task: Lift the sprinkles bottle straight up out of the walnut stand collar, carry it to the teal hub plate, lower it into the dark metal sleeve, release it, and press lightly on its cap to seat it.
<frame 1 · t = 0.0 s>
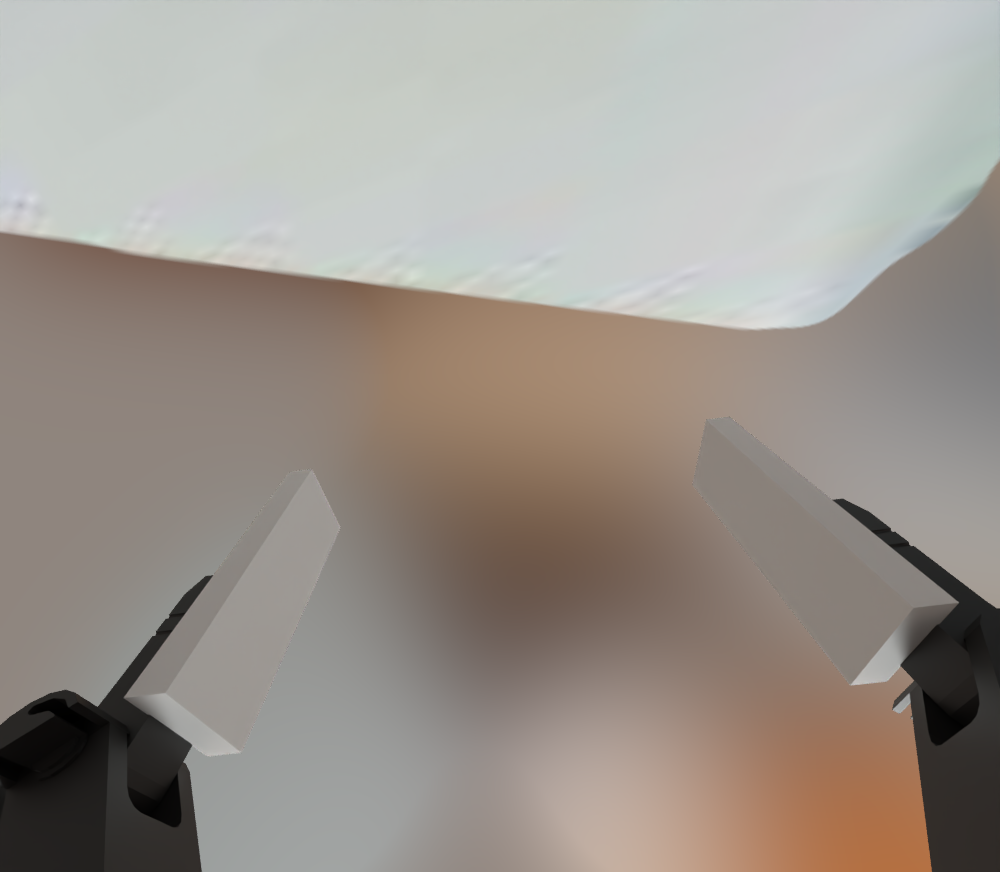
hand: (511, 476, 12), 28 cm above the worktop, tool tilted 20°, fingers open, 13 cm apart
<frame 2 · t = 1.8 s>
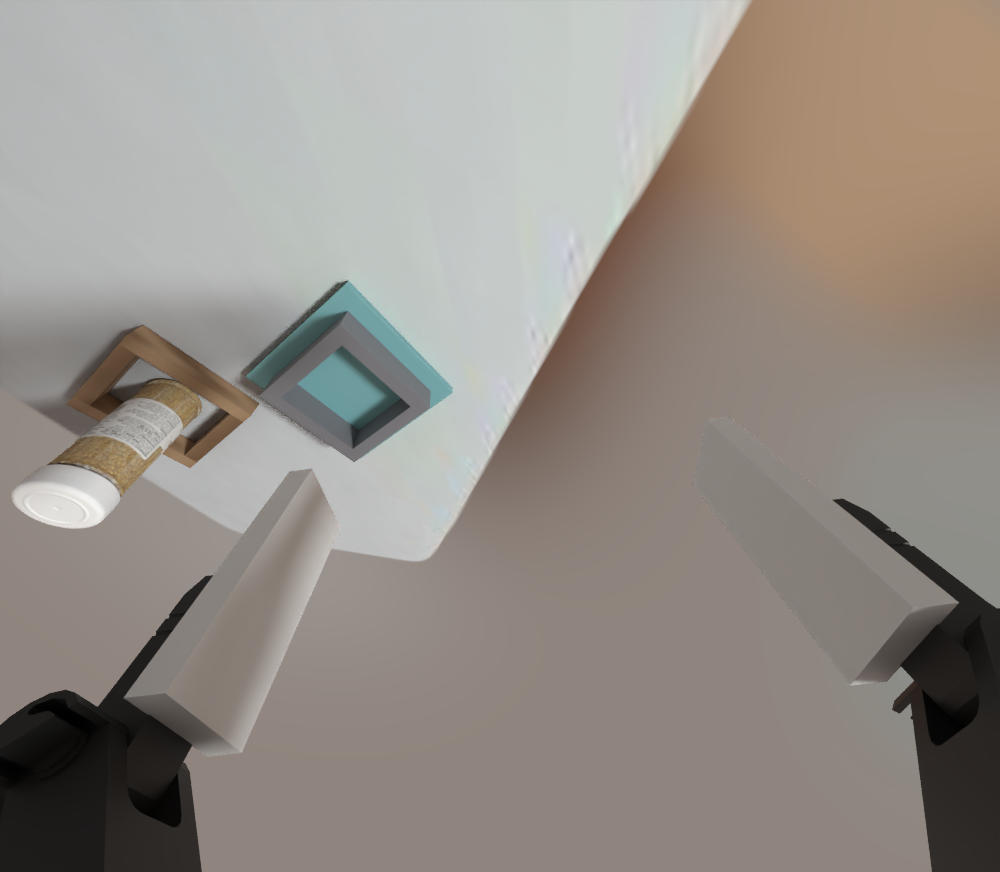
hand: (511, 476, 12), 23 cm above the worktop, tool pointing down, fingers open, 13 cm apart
stand collar: (175, 398, 34), on the worktop
hub plate: (356, 379, 35), on the worktop
sprinkles bottle: (176, 396, 34), resting in stand collar
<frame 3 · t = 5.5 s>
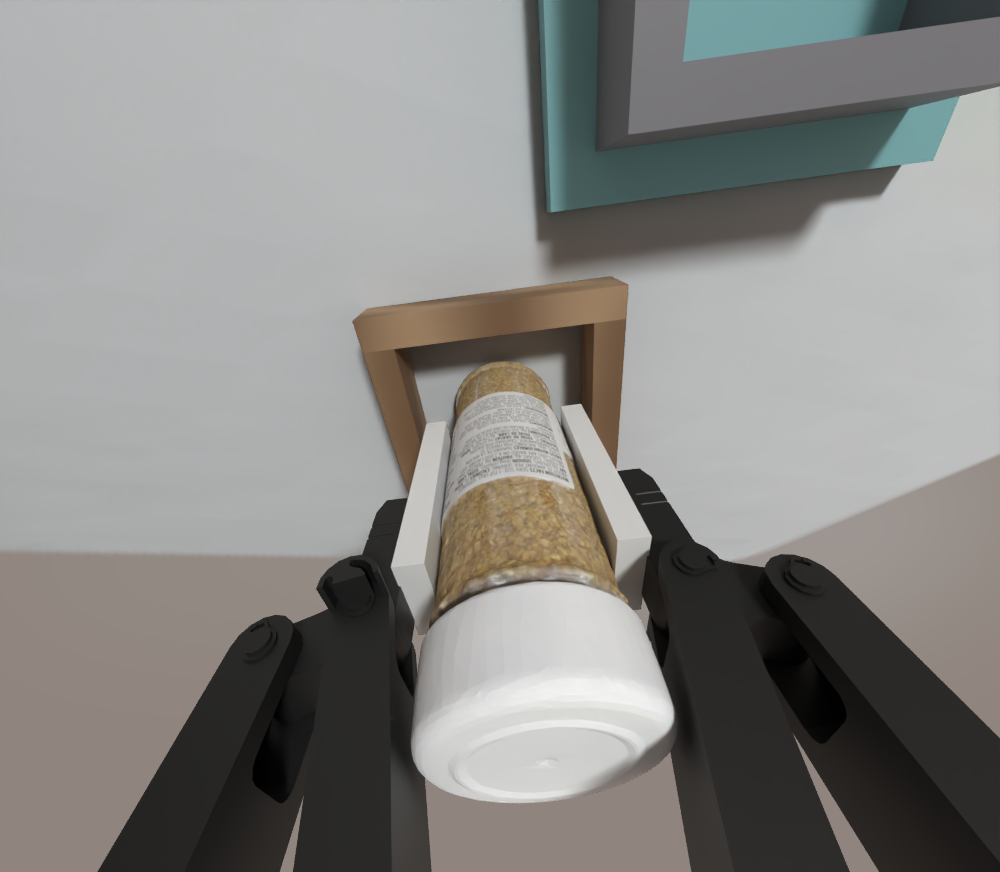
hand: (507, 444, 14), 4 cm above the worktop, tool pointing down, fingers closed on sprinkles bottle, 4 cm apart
stand collar: (502, 402, 17), on the worktop
sprinkles bottle: (501, 400, 18), resting in stand collar, touching gripper
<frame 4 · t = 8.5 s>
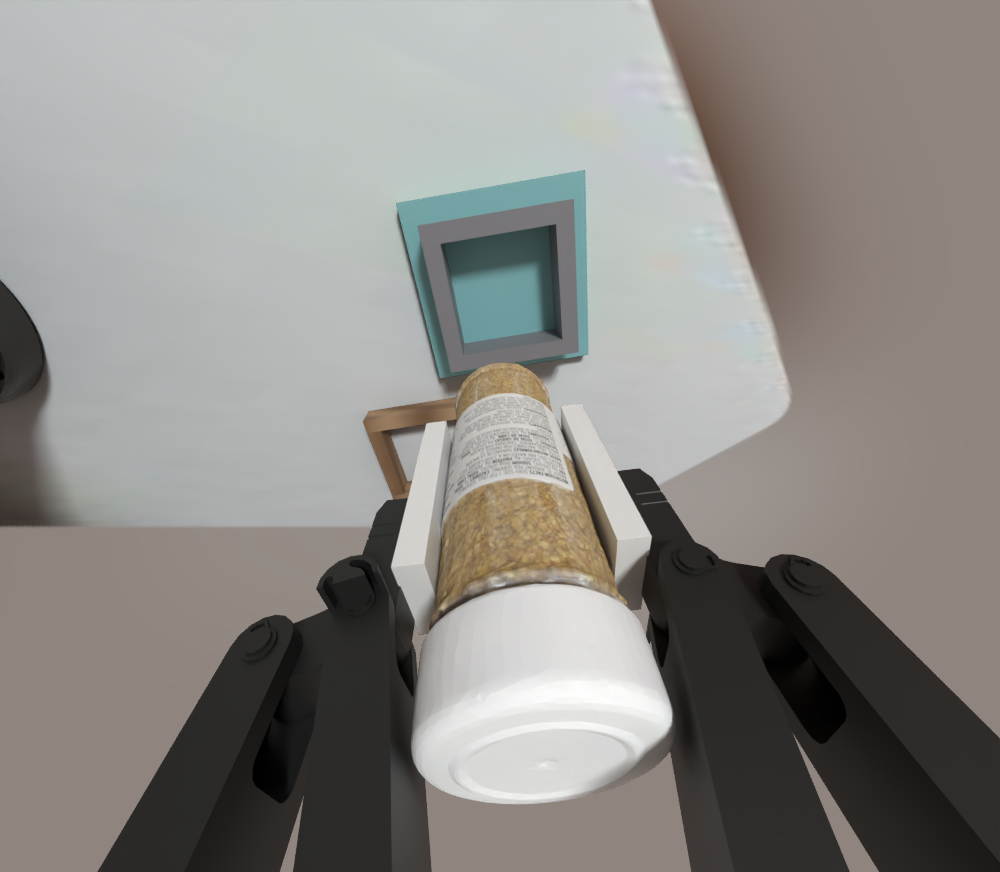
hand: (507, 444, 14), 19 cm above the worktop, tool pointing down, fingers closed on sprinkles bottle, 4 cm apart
stand collar: (433, 447, 36), on the worktop
hub plate: (502, 285, 29), on the worktop
sprinkles bottle: (501, 401, 18), point 15 cm above the worktop, touching gripper
when the fingers open (6 cm above the worktop, at t = 11.4 s): sprinkles bottle drops 1 cm, resting on hub plate.
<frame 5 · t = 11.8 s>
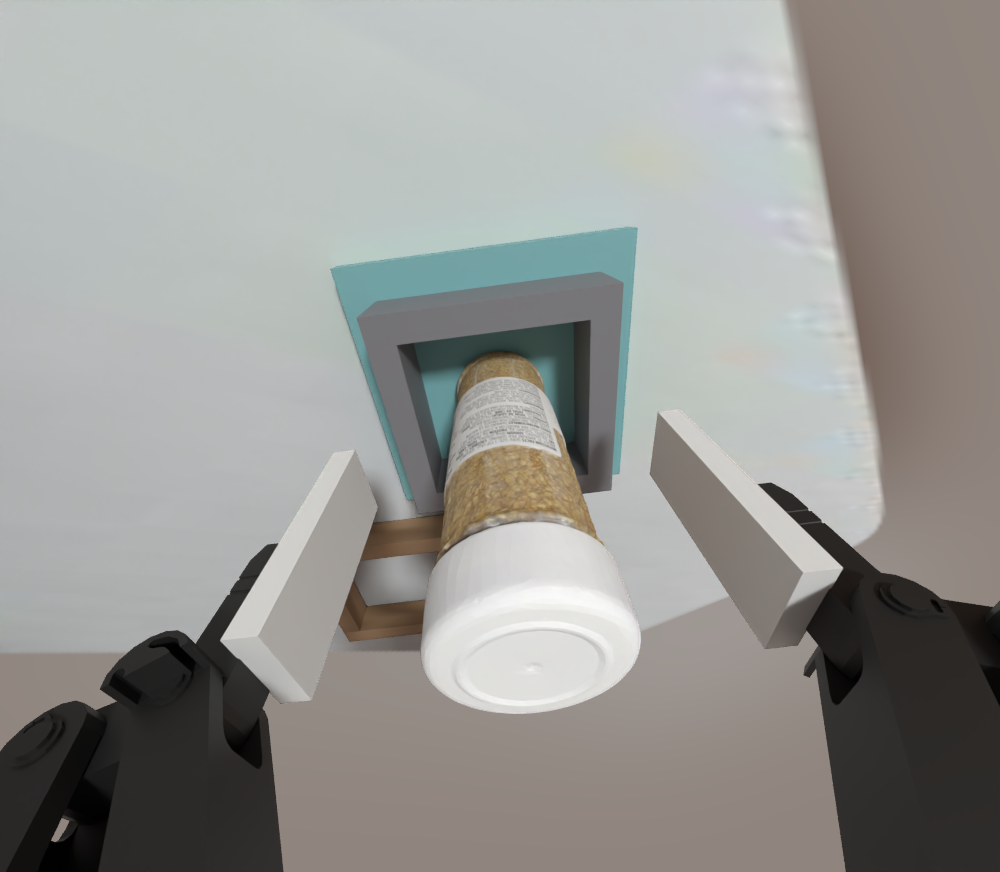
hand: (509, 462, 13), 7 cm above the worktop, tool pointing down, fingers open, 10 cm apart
stand collar: (401, 570, 27), on the worktop
hub plate: (499, 381, 19), on the worktop
sprinkles bottle: (499, 388, 19), point 1 cm above the worktop, touching hub plate
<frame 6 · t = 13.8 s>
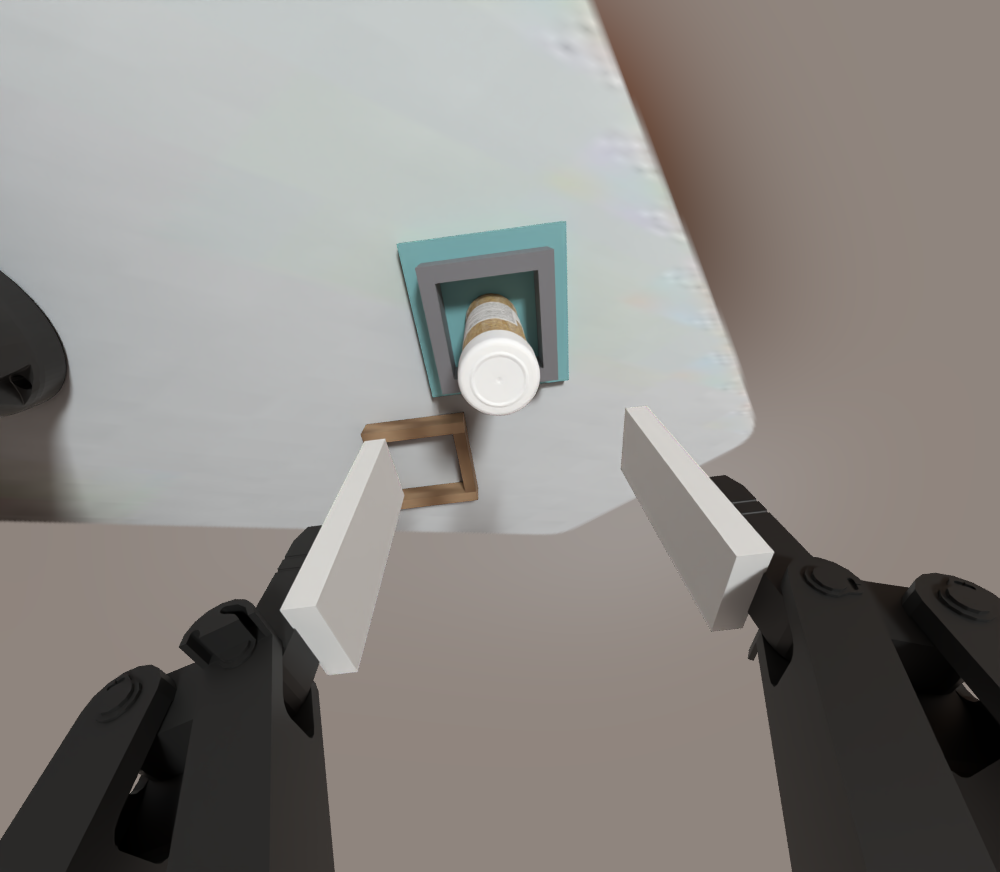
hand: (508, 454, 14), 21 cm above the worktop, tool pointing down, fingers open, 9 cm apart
stand collar: (425, 458, 39), on the worktop
hub plate: (491, 316, 32), on the worktop
sprinkles bottle: (491, 319, 31), point 1 cm above the worktop, touching hub plate
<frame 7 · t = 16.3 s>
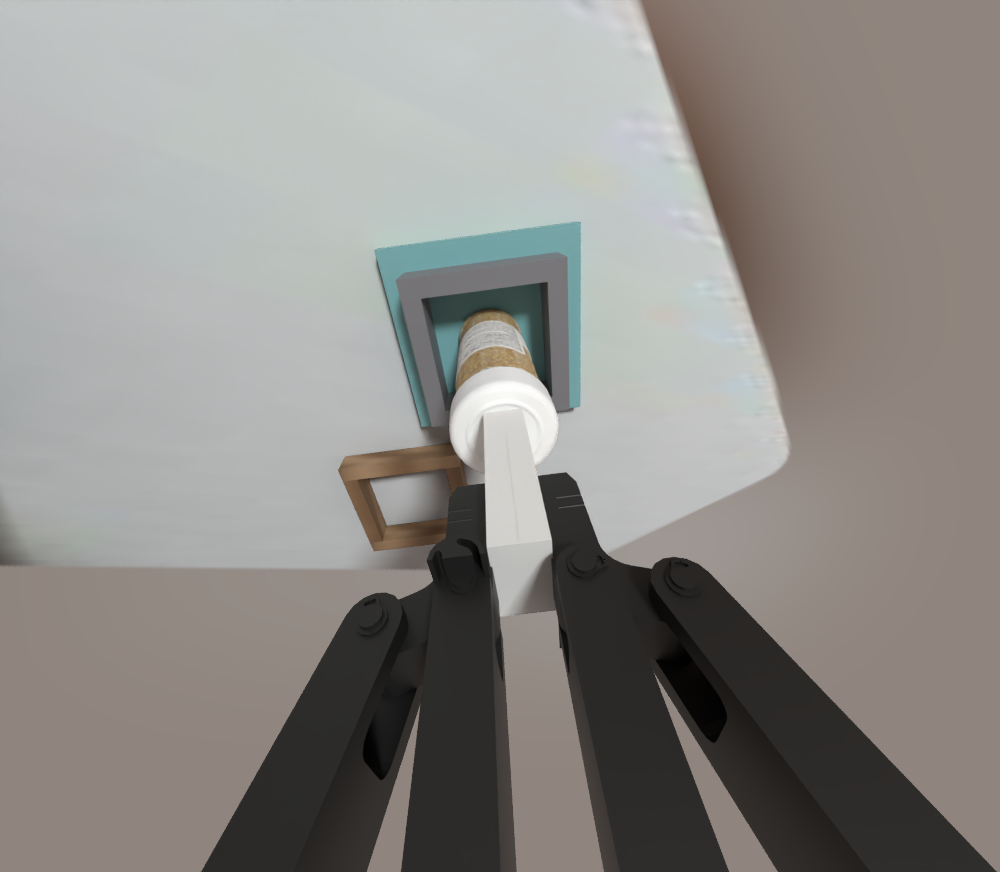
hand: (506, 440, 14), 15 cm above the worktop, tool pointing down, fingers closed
stand collar: (415, 492, 34), on the worktop
hub plate: (490, 334, 27), on the worktop
sprinkles bottle: (489, 337, 26), point 1 cm above the worktop, touching gripper, hub plate
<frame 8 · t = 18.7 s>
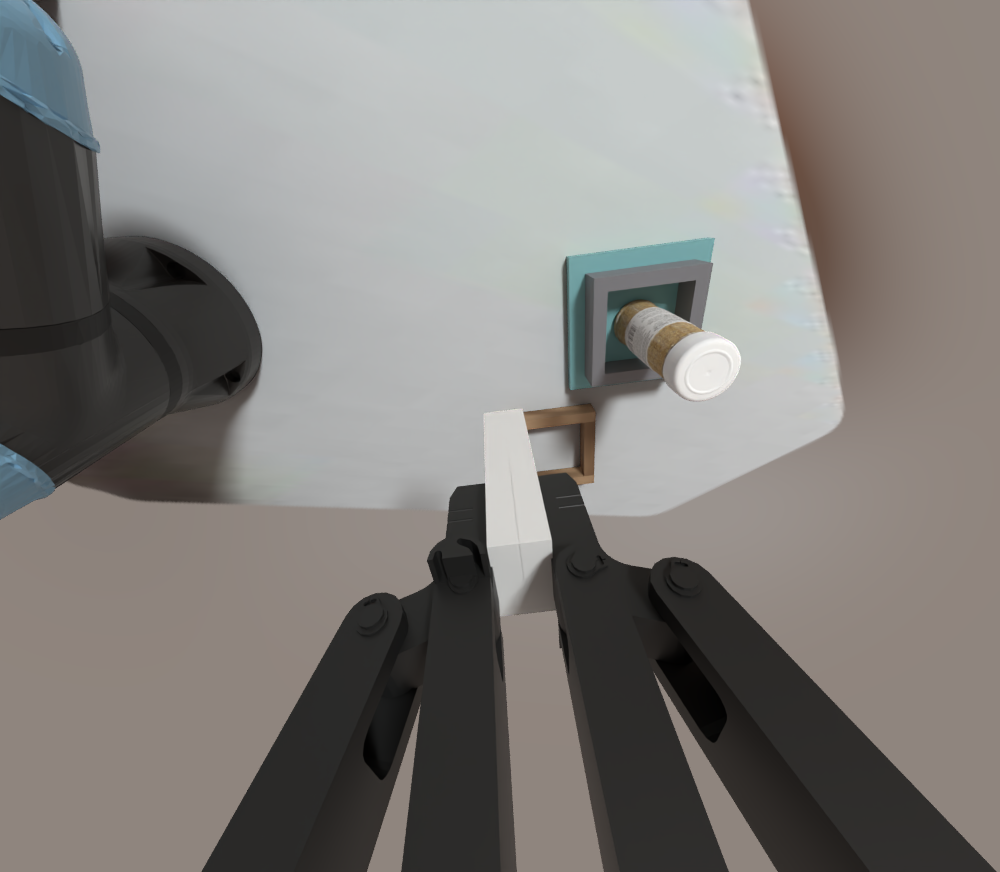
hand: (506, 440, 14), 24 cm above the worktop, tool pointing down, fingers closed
stand collar: (549, 445, 44), on the worktop
hub plate: (631, 319, 36), on the worktop
sprinkles bottle: (634, 321, 36), point 1 cm above the worktop, touching hub plate
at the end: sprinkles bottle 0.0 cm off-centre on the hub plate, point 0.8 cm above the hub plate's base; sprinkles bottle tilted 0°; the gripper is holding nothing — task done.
